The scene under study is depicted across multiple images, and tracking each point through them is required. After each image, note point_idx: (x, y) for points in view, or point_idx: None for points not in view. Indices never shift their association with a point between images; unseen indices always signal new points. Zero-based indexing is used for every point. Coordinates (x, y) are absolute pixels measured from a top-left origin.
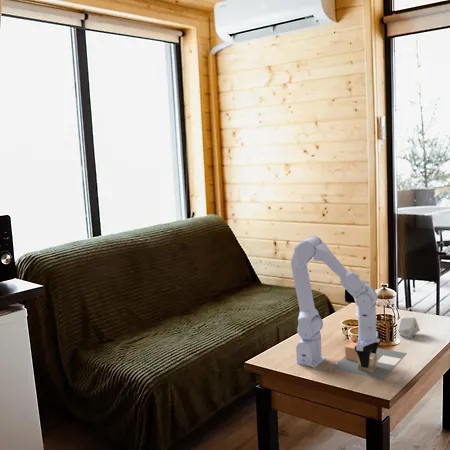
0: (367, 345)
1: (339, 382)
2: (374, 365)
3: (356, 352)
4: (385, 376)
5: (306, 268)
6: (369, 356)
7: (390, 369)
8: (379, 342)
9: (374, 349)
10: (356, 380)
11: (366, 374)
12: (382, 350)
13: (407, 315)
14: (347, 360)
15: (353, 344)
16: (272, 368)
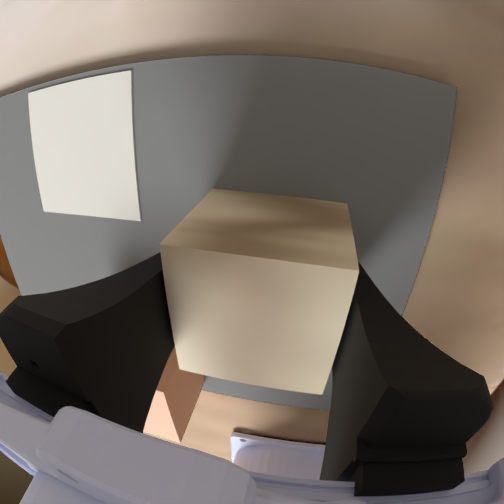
0: (139, 393)
1: (498, 346)
2: (291, 213)
3: (177, 382)
4: (394, 78)
5: None
6: (384, 326)
7: (221, 72)
8: (33, 316)
9: (137, 308)
10: (478, 279)
11: (403, 239)
12: (9, 232)
13: None
14: None
15: None
16: None
